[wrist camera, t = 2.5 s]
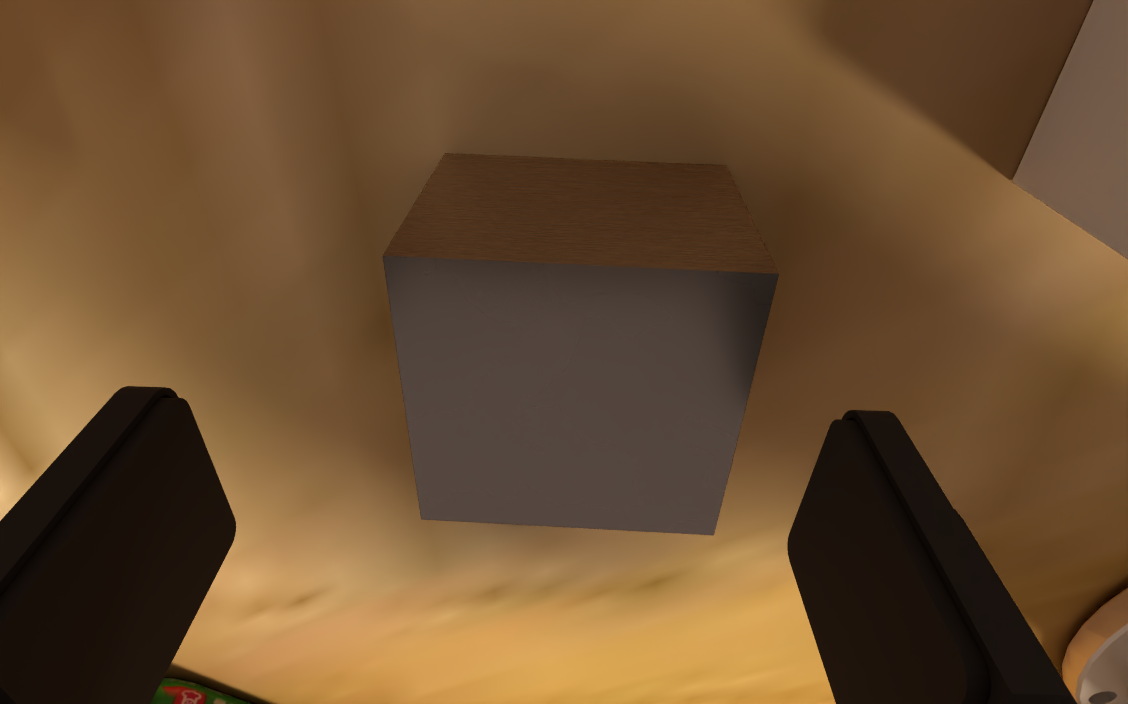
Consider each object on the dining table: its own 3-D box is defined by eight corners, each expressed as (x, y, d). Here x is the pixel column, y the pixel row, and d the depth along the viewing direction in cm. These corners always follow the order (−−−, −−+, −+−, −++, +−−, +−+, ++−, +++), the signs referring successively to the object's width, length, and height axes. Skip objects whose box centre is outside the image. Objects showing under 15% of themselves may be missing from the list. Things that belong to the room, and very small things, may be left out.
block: (686, 384, 17) (713, 534, 13) (463, 373, 17) (421, 519, 13) (724, 163, 14) (778, 274, 10) (446, 151, 14) (383, 255, 10)
